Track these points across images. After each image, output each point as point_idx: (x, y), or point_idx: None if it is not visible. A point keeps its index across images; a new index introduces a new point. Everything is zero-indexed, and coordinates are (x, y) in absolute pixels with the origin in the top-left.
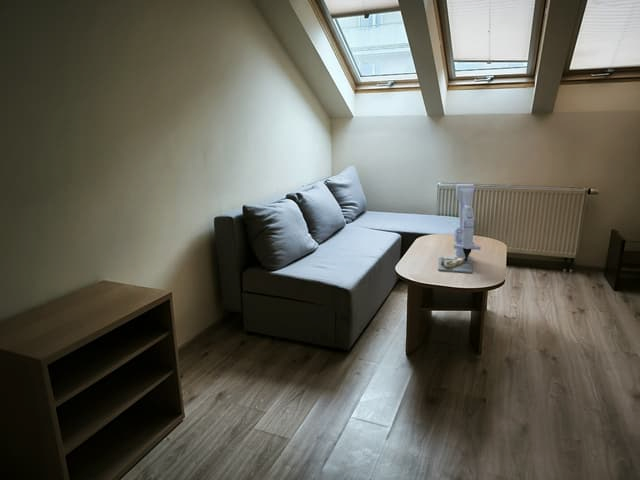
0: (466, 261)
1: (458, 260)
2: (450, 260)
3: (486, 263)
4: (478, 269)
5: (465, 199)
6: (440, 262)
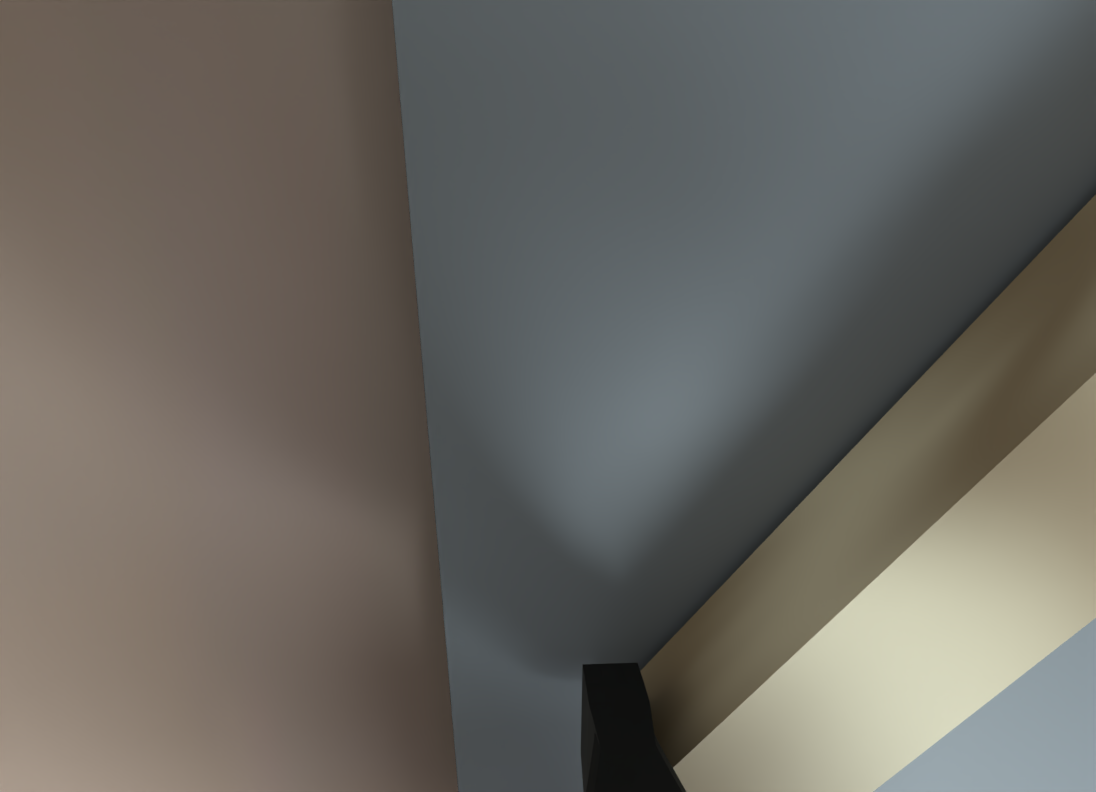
0: None
1: (1006, 512)
2: (1058, 690)
3: (50, 753)
4: (150, 165)
5: None
6: None
